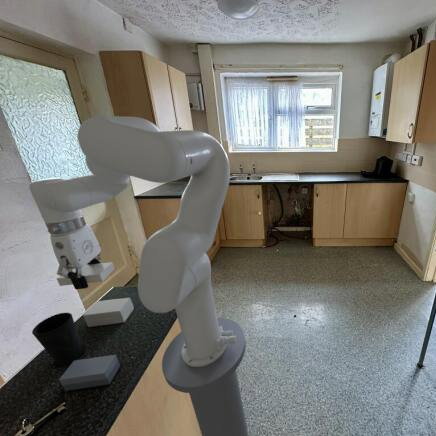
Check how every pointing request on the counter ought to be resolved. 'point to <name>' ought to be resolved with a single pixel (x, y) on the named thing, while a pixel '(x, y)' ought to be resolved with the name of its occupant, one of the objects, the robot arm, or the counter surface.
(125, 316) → the white book
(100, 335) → the counter surface
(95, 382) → the blue-grey rectangular block
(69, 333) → the cup
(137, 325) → the counter surface
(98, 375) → the blue-grey flat block
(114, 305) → the white book
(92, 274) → the flat grey box
